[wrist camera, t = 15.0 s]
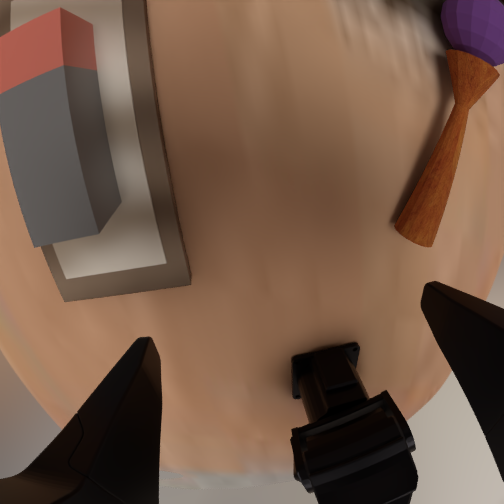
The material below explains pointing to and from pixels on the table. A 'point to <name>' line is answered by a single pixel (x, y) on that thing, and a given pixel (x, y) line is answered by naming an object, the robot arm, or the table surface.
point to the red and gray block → (56, 128)
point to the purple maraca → (456, 107)
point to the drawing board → (120, 161)
